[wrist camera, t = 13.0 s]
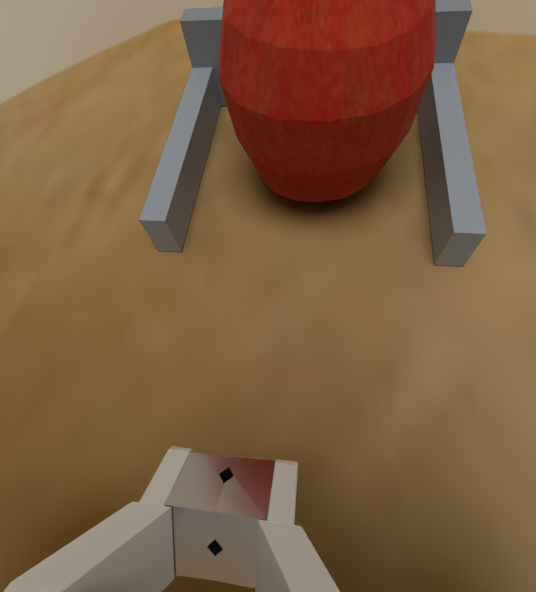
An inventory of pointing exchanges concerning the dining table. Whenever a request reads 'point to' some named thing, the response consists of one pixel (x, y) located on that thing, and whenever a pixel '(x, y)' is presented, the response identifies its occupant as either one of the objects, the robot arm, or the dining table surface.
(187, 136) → the frame
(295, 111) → the apple
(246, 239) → the dining table surface
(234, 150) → the dining table surface
